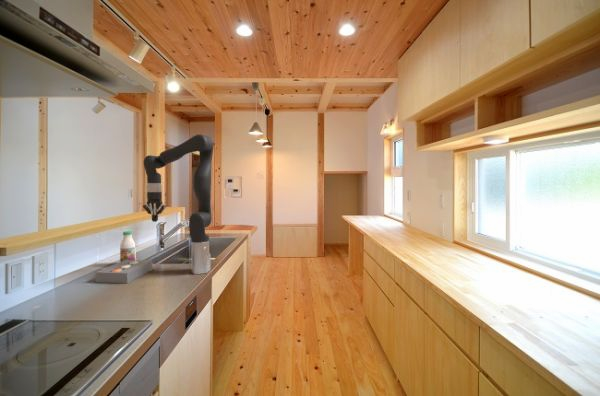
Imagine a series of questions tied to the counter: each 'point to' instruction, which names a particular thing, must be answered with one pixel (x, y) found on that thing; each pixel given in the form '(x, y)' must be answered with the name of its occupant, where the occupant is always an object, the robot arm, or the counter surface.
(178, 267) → the counter surface
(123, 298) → the counter surface
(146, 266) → the button console
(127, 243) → the milk bottle
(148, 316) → the counter surface
